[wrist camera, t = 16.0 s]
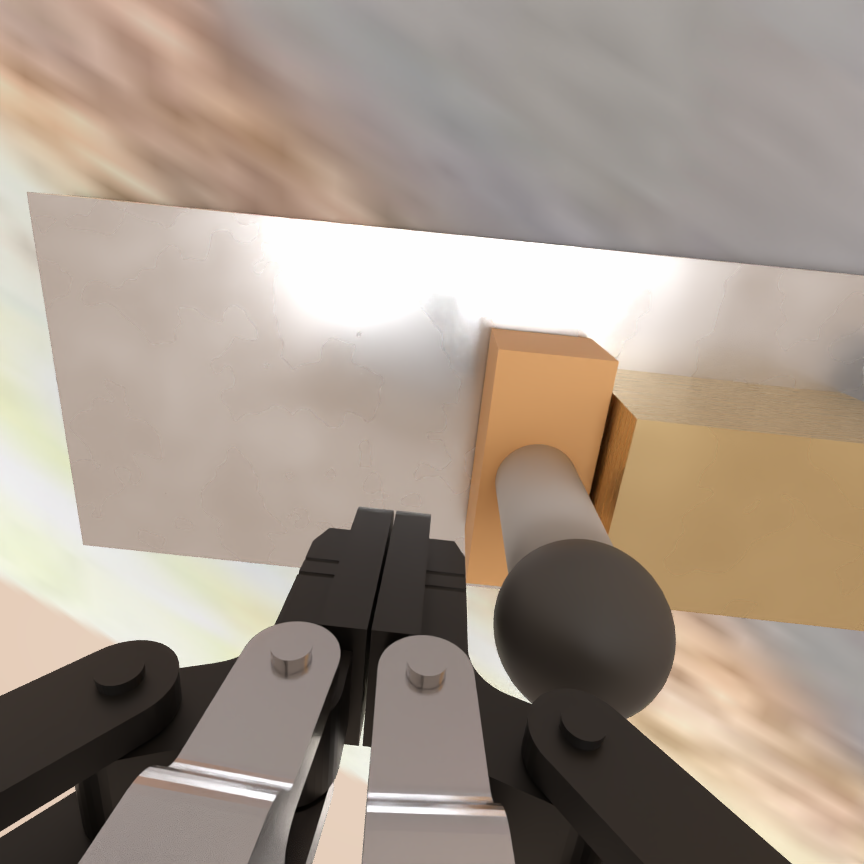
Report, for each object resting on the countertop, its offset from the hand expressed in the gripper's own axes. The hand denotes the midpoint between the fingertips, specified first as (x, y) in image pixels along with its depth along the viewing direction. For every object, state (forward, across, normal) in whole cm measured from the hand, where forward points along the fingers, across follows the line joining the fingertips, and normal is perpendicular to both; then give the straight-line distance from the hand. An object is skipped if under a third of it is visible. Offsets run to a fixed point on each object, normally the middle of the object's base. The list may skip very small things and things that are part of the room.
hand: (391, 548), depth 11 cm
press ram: (+7, -4, 0) cm, 8 cm away
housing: (+7, -9, 0) cm, 12 cm away
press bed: (+9, -3, 0) cm, 10 cm away
